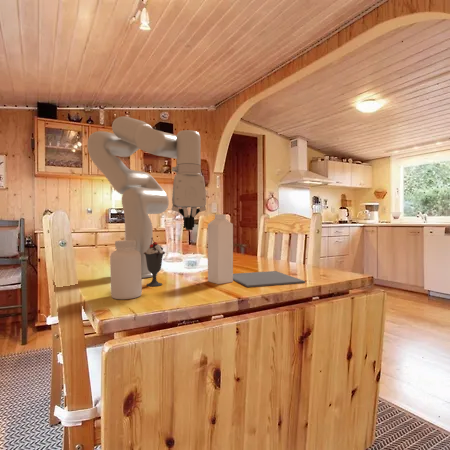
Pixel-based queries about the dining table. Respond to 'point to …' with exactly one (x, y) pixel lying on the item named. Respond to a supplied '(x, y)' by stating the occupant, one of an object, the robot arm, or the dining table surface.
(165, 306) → the dining table surface
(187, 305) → the dining table surface
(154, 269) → the sundae
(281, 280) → the slate mat
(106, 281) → the dining table surface
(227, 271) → the milk
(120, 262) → the pill bottle
